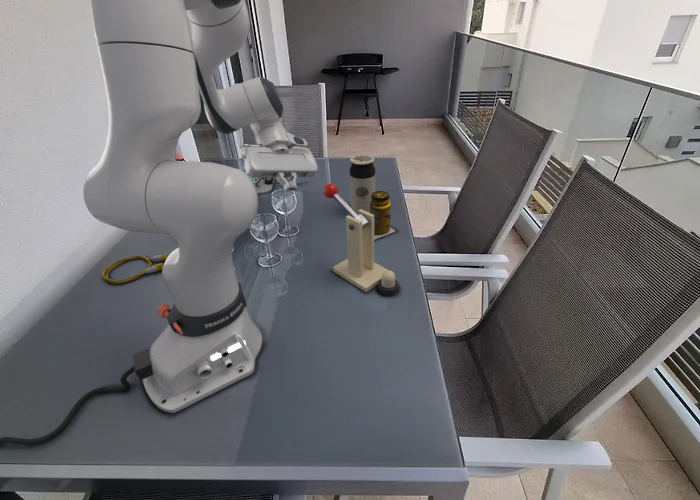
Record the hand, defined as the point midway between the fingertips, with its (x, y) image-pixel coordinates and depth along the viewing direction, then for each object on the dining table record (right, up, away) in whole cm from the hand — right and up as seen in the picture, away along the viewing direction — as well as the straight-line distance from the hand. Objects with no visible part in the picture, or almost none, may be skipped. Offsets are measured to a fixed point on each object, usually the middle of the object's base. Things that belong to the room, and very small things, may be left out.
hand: (291, 189), depth 91 cm
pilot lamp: (+25, -25, -8) cm, 36 cm away
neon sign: (-16, +11, +48) cm, 52 cm away
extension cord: (-42, -21, +3) cm, 48 cm away
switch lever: (+14, -6, -8) cm, 17 cm away
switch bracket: (+18, -22, -2) cm, 29 cm away
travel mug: (+20, -3, +25) cm, 32 cm away
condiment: (+24, -10, +15) cm, 30 cm away
